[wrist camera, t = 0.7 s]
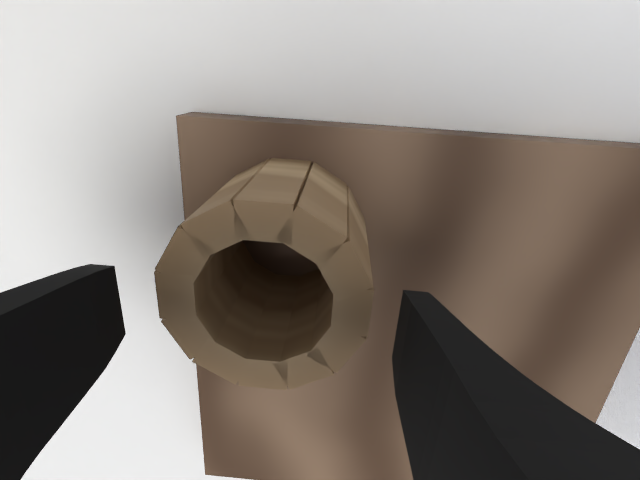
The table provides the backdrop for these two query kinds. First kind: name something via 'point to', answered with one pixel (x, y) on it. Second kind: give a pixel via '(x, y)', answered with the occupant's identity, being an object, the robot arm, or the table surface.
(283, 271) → the fabric cloth
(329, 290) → the bead
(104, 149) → the table surface
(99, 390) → the table surface
